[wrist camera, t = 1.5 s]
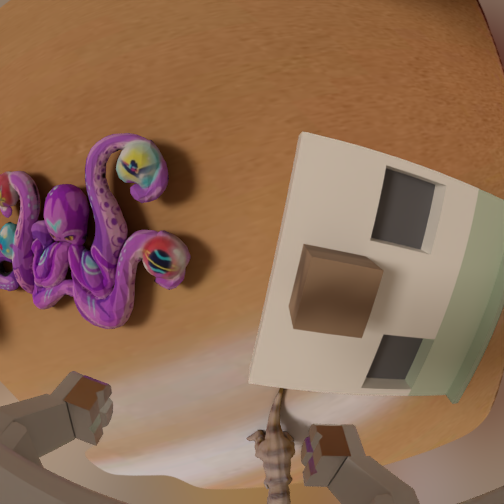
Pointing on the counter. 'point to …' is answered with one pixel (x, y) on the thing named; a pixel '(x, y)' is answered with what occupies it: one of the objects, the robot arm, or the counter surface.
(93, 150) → the decorative sculpture
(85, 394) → the robot arm
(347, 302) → the walnut block
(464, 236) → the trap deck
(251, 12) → the counter surface
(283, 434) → the toy
